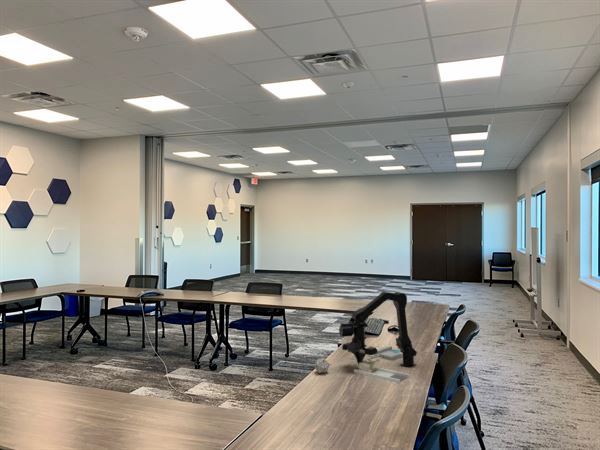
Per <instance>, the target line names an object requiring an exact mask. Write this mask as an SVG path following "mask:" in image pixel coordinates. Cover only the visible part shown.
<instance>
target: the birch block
mask: <svg viewBox="0 0 600 450" xmlns="http://www.w3.org/2000/svg"><path fill="white" fill-rule="evenodd" d="M375 367H376V362H375V361H371V360H367V359H366V360H363V361H362V362H360V363H359V365H358V370H361V371H365V372H369V373H372V372H374V371H375Z"/></svg>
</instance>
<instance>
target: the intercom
mask: <svg viewBox="0 0 600 450" xmlns="http://www.w3.org/2000/svg"><path fill="white" fill-rule="evenodd" d="M376 349H377V353H376V354H374V355H366V356H367V357H368V358H369V359H379V358H378V357H380V358H381V359H382V360H385V361H386V360H387V361H391V362H393V361H396V360H399V359H401V358H402V359H403V353H402V352H401V351H400V349H393V346H391V345H387V346H386V345H385V346H383V347H380V348H376Z"/></svg>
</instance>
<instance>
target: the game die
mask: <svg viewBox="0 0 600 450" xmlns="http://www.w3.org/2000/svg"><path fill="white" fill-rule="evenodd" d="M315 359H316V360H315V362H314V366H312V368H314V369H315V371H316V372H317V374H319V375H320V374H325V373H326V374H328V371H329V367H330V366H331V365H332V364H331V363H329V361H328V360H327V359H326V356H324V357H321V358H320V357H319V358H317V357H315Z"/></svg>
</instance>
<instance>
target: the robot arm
mask: <svg viewBox="0 0 600 450" xmlns="http://www.w3.org/2000/svg"><path fill="white" fill-rule="evenodd" d="M387 300H388V301H392V303H393V305H394V307H395V311H396V319H397V327H398V337H396V338H395V341H396V344H395V346H397V348H398V350H400V351H401V352H402V353H403V357H402V363H401V364H400V366H401V367H407V368H413V367H416V366H417V363H415V360H414V359H415V356H417V353H418V352H417V351H416V349H415V348H414V347H413V343H412V340H411V339H410V336H409V334H408V323H407V313H406V307H407V306H408V296H407V294H405V293H403V292H400V291H395V292H387V291H381V292H380V294H378V295H377V296H376V297H375V298H374V299H372V300H371V301H370V302H368V303H367V304H366V305H365V306H363V307H361V308H359V309H356V310H355V311H353V312H352V314H351V317H350V319H349V321H347V323H345V322H341V323H340V325H339V329H338V333H339V336H340V337H341V338H344V337H351V339H352V340H351V341H350V342H346V343H343V344H342V349H341V350H342V351H347V352H348V353H352V354H353V355H354V357H355V360H356V362H357V364H358V366H359V363H360V362H362V361H364V358H365V356H367V355H370V356H374V354H376V353H377V349H378V348H377V347H373V346H369V347H367V344H366V343H365V341H366V339H367V337H366V334H365V333H366V331H365V328H368V327H369V325H368V323H366V320H367V319H368V318H369V316H370V315H371V313H373V312H374V311H375V310H376V309H378V308H379V307H380V306H381V305H383V304H384V303H385V302H386V301H387ZM352 336H353V337H352Z"/></svg>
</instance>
